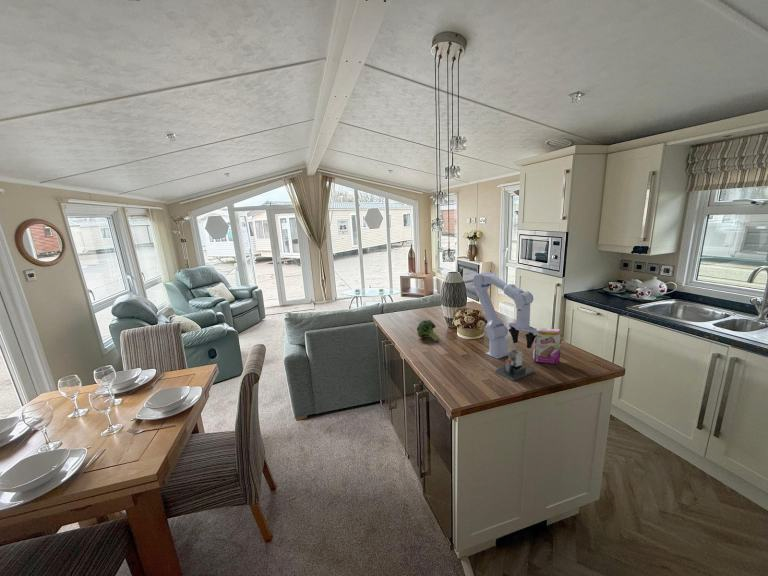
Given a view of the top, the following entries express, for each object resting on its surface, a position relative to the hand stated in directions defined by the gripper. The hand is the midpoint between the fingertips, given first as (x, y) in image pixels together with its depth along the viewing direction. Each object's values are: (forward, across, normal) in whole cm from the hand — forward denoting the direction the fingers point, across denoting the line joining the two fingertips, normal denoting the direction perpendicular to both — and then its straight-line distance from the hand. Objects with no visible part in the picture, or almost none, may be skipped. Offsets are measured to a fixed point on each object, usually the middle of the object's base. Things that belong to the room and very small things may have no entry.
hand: (522, 345), depth 148 cm
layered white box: (+6, +3, -8) cm, 11 cm away
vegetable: (+10, -55, -15) cm, 58 cm away
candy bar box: (+11, +4, +13) cm, 17 cm away
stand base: (+10, +3, -8) cm, 13 cm away
